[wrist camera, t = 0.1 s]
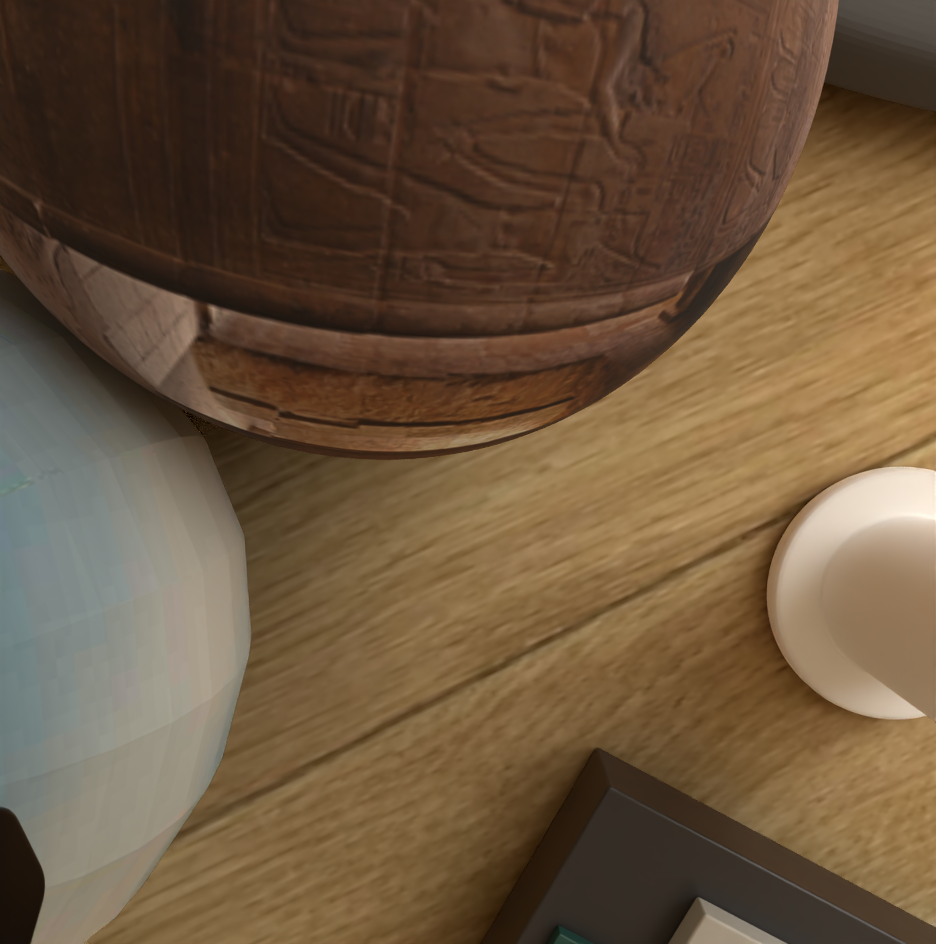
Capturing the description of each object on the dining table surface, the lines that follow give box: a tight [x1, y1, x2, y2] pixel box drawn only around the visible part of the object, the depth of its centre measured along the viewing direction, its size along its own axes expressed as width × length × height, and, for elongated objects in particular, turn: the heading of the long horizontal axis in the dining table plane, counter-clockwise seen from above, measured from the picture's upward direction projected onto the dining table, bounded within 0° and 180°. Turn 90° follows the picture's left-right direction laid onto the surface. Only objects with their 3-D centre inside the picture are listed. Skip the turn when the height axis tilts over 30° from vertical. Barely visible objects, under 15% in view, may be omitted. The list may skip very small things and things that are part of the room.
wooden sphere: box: [0, 0, 839, 460], centre depth 15 cm, size 15×15×15 cm
